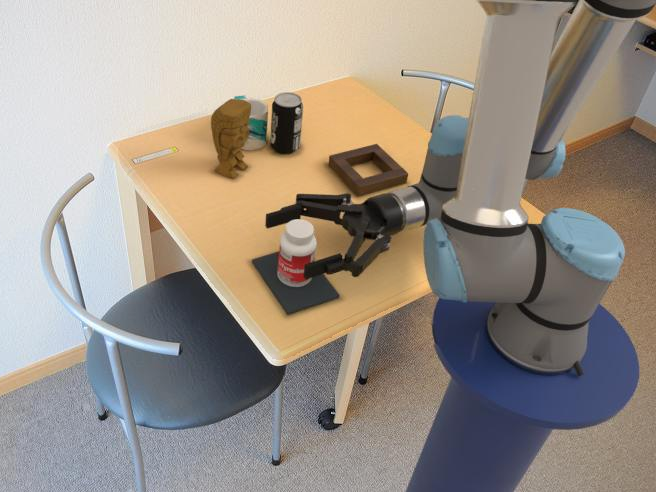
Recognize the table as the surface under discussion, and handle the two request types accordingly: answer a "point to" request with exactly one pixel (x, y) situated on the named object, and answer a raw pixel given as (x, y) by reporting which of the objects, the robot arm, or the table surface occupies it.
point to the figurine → (231, 135)
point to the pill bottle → (296, 252)
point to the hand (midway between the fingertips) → (284, 245)
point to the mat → (294, 297)
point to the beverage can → (286, 123)
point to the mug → (256, 123)
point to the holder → (374, 183)
